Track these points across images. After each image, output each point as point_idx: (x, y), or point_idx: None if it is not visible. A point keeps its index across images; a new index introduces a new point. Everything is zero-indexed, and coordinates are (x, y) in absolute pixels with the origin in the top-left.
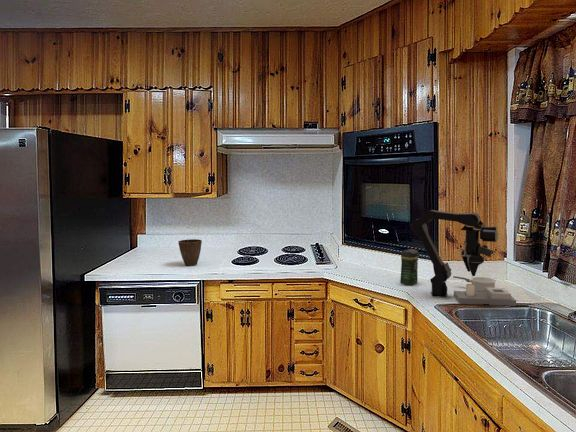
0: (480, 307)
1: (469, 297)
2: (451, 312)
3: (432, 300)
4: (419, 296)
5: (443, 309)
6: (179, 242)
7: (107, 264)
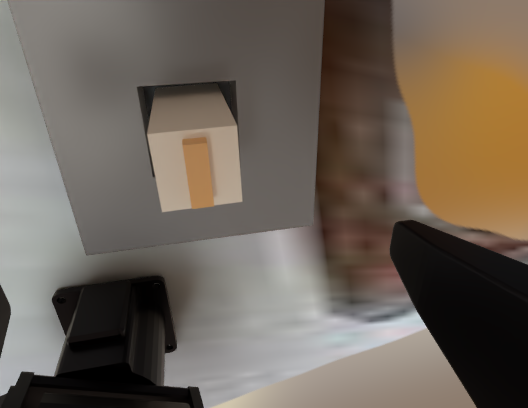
0: (386, 60)
1: (286, 146)
2: None
3: (261, 336)
4: None
5: None
6: None
7: None
